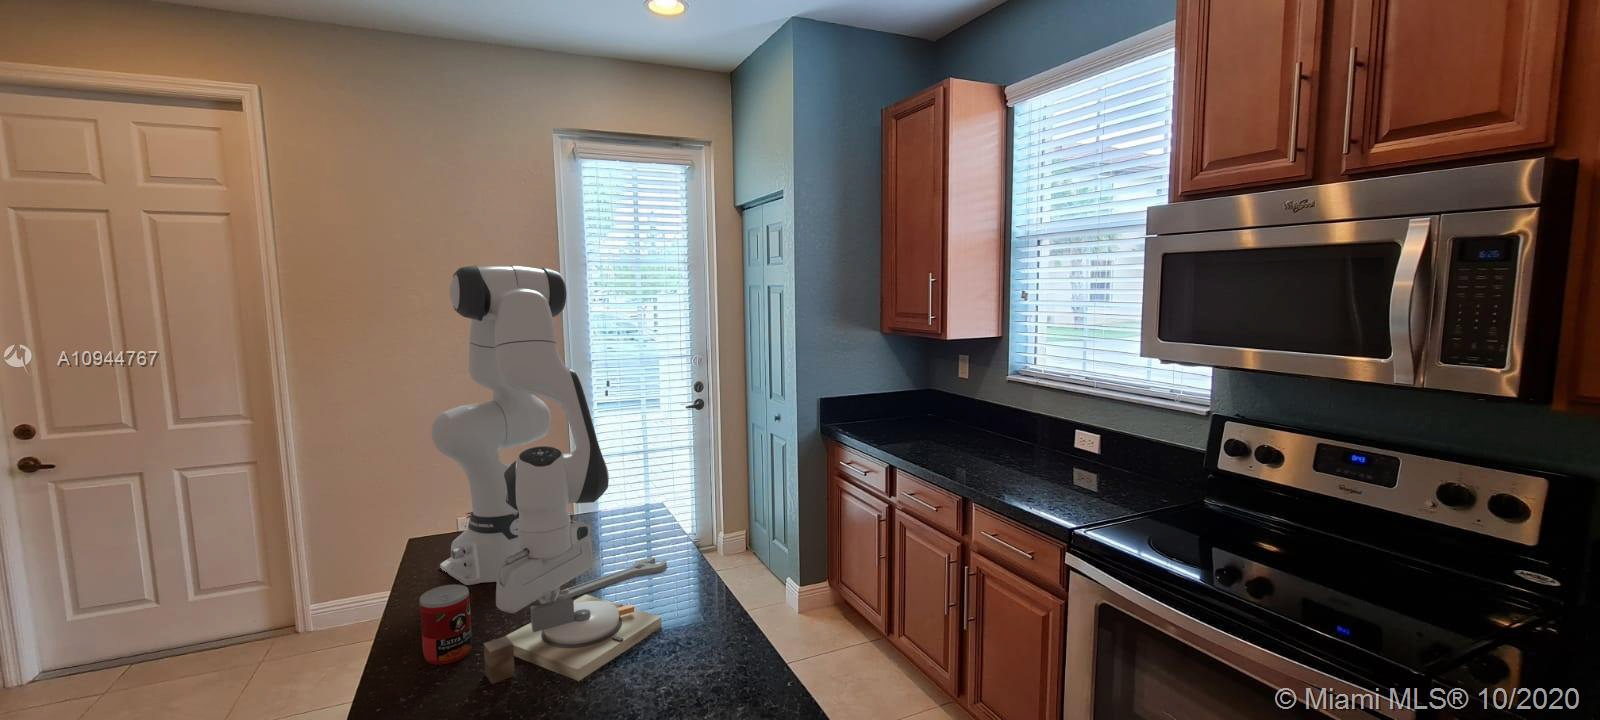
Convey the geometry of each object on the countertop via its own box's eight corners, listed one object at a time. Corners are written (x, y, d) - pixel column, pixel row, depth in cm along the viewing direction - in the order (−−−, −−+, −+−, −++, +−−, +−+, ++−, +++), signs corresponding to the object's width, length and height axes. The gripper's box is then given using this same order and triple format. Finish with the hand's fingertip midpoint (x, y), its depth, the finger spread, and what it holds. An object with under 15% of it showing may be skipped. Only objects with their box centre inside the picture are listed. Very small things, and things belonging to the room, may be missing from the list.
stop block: (492, 684, 109) (490, 652, 108) (485, 674, 111) (483, 643, 111) (515, 675, 111) (513, 644, 110) (507, 666, 114) (506, 635, 113)
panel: (499, 650, 119) (498, 637, 119) (586, 603, 136) (585, 592, 136) (578, 681, 109) (578, 667, 109) (661, 627, 126) (661, 615, 126)
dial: (540, 655, 112) (539, 624, 112) (526, 623, 123) (524, 594, 123) (644, 626, 122) (643, 596, 121) (622, 598, 133) (621, 571, 132)
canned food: (440, 670, 113) (435, 608, 112) (414, 657, 117) (409, 597, 116) (482, 649, 119) (478, 590, 118) (456, 637, 124) (452, 580, 122)
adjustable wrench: (560, 604, 138) (559, 595, 137) (549, 593, 143) (549, 585, 142) (670, 569, 153) (669, 562, 153) (657, 561, 158) (656, 554, 158)
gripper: (512, 565, 109) (517, 645, 110) (597, 522, 127) (600, 591, 129) (484, 559, 111) (489, 637, 113) (571, 518, 130) (574, 586, 132)
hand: (549, 612), depth 121 cm, fingers closed
